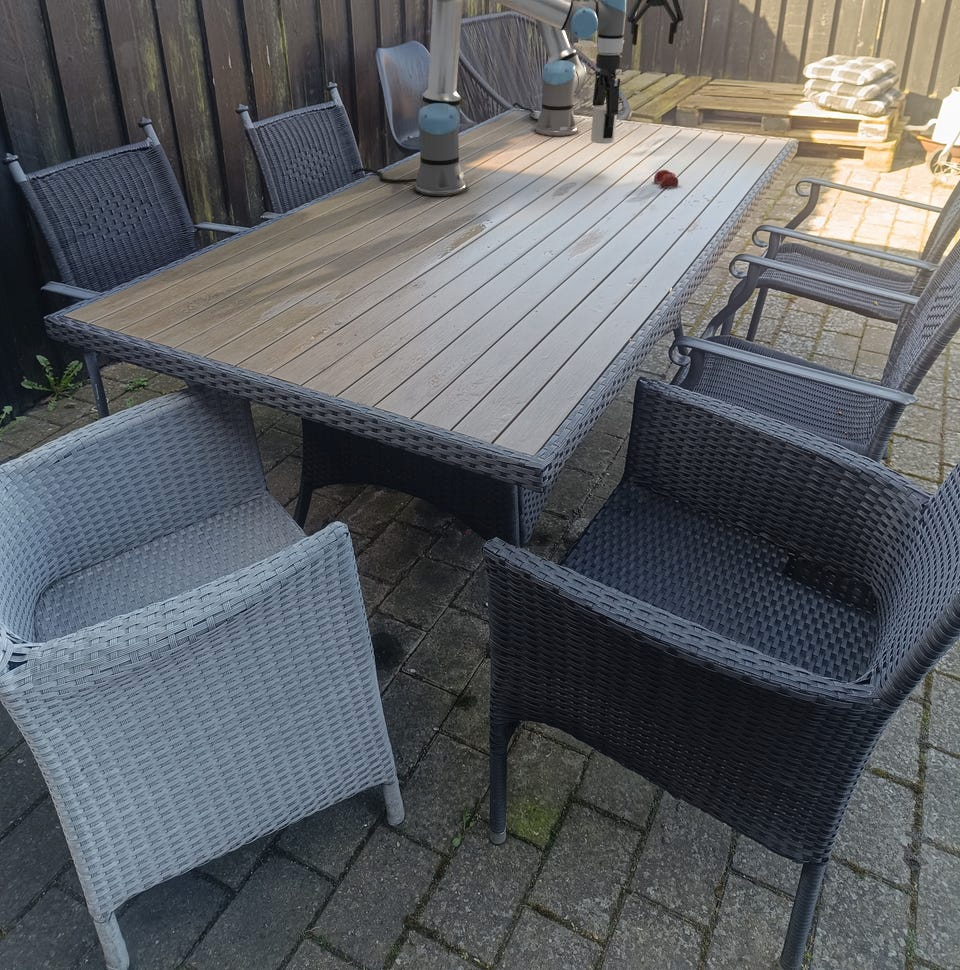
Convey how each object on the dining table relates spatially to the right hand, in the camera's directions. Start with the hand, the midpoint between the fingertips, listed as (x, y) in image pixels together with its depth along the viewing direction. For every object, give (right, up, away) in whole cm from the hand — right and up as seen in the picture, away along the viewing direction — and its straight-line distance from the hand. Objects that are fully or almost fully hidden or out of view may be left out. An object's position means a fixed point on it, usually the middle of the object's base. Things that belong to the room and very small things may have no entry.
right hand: (652, 44), depth 303 cm
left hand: (-24, -49, -40) cm, 68 cm away
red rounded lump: (-4, -65, -40) cm, 77 cm away
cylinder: (-24, -51, -39) cm, 68 cm away
